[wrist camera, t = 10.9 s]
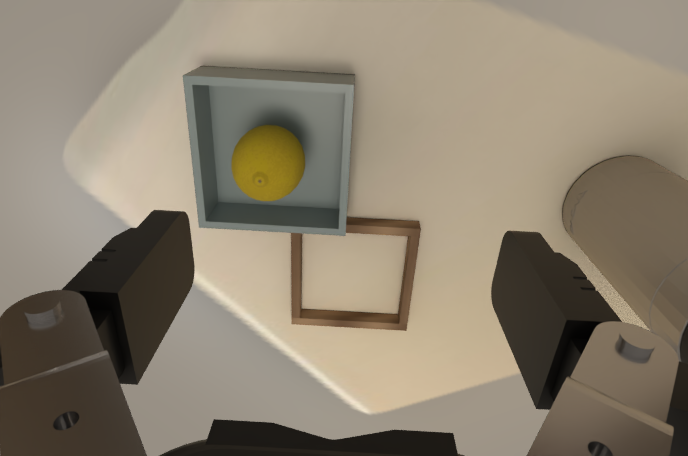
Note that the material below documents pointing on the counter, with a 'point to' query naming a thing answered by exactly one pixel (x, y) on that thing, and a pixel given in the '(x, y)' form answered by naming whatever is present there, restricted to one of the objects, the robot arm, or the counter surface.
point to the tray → (360, 318)
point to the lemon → (268, 163)
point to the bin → (282, 110)
